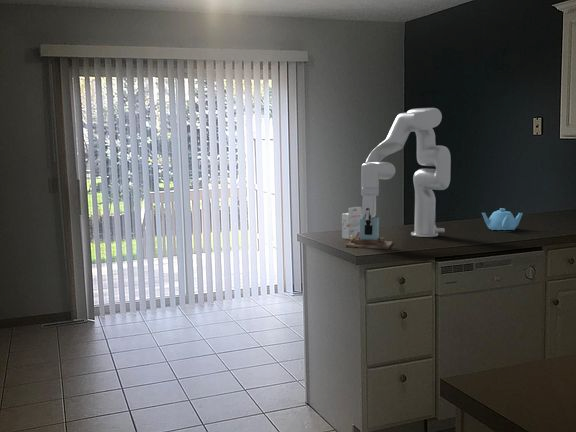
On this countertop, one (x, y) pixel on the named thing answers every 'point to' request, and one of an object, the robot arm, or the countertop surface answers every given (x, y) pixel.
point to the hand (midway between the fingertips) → (369, 233)
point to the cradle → (368, 243)
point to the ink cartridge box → (351, 223)
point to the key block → (374, 229)
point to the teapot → (502, 220)
